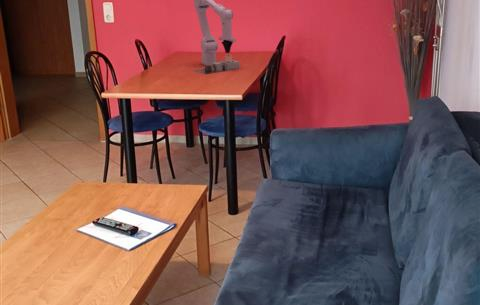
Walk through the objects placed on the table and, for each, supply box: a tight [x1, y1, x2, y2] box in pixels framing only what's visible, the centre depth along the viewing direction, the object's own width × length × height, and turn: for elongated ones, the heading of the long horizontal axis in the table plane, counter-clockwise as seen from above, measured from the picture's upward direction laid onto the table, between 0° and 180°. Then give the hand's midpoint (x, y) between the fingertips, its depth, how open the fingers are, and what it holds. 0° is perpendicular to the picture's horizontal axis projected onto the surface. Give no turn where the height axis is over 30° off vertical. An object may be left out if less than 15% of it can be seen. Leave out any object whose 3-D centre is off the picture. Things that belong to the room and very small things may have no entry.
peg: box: [224, 54, 233, 63], centre depth 353 cm, size 4×4×8 cm
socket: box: [218, 59, 240, 71], centre depth 353 cm, size 9×9×4 cm
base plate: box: [192, 67, 242, 75], centre depth 351 cm, size 16×26×1 cm, turn 127°
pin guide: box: [211, 61, 223, 71], centre depth 348 cm, size 6×4×4 cm
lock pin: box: [204, 65, 216, 72], centre depth 347 cm, size 3×11×4 cm, turn 127°
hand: (227, 52), depth 351 cm, fingers closed
